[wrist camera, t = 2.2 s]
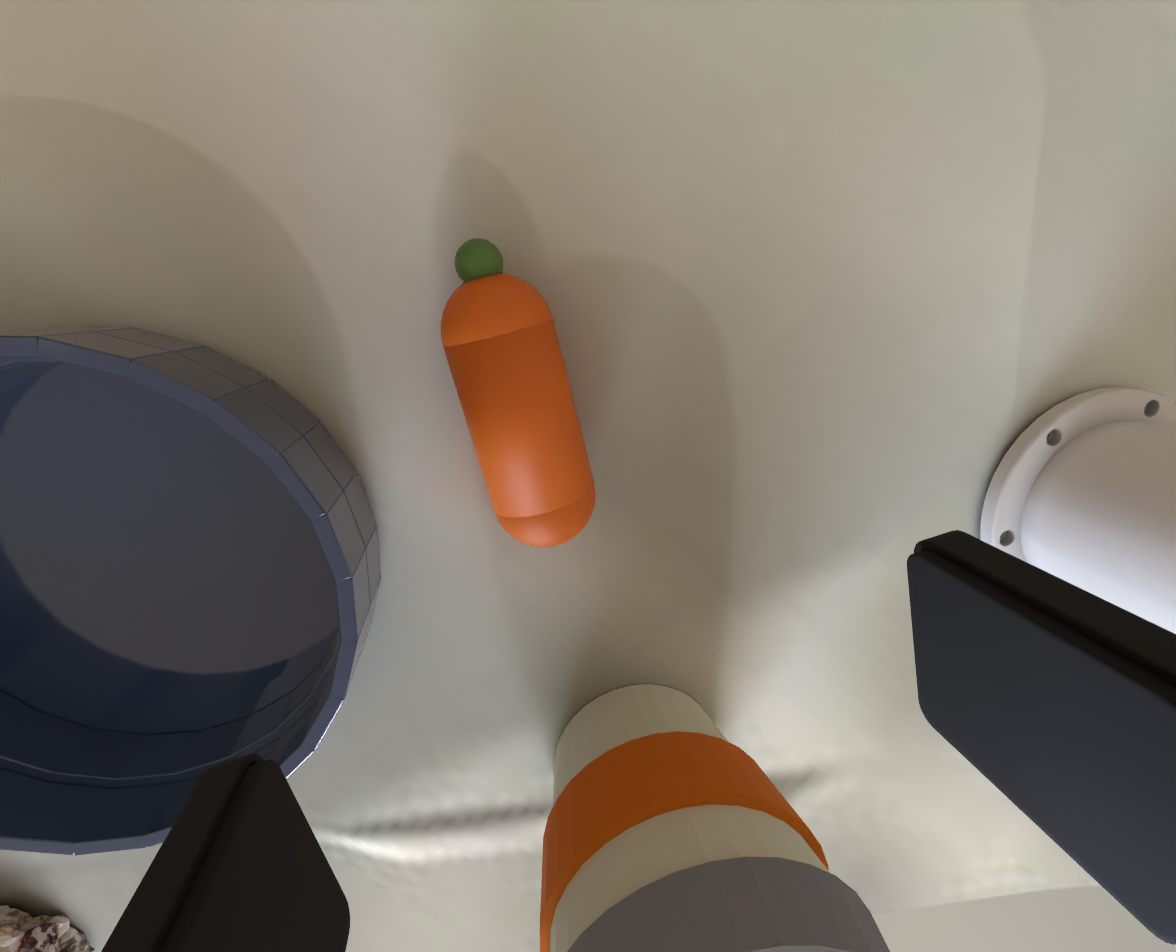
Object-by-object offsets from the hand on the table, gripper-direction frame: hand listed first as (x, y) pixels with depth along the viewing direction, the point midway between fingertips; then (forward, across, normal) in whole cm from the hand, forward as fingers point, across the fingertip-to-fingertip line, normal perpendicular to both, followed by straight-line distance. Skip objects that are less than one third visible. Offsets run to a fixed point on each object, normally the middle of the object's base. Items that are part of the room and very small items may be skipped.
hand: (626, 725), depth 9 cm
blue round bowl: (+20, +17, +1) cm, 26 cm away
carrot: (+18, 0, -1) cm, 18 cm away
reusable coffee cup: (+20, -1, +19) cm, 28 cm away
